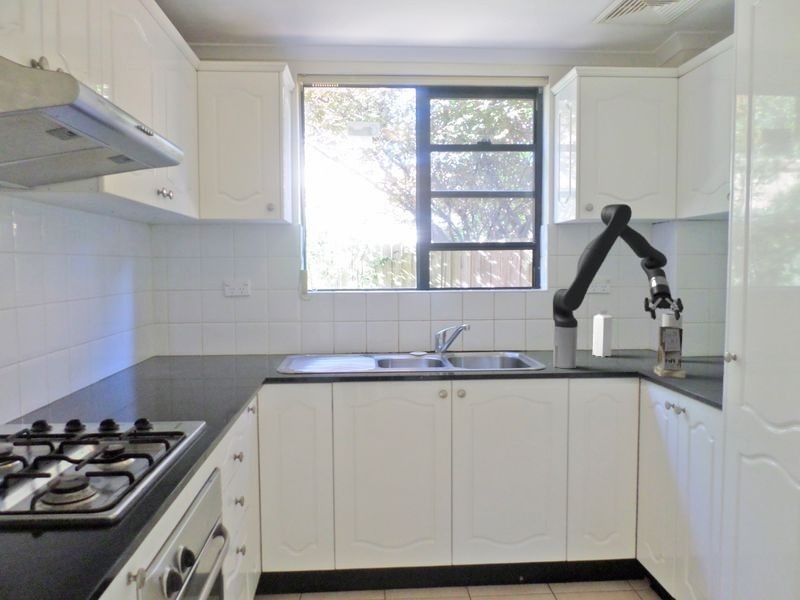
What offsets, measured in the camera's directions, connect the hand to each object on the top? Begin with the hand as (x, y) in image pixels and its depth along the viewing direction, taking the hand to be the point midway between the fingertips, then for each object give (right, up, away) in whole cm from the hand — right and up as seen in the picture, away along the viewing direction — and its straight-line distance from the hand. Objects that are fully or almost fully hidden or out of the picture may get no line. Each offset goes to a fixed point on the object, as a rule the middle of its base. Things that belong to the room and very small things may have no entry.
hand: (666, 318), depth 208 cm
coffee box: (-2, -19, -6) cm, 20 cm away
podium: (-2, -22, -6) cm, 23 cm away
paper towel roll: (+14, -20, +24) cm, 35 cm away
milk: (-12, -19, +36) cm, 43 cm away
